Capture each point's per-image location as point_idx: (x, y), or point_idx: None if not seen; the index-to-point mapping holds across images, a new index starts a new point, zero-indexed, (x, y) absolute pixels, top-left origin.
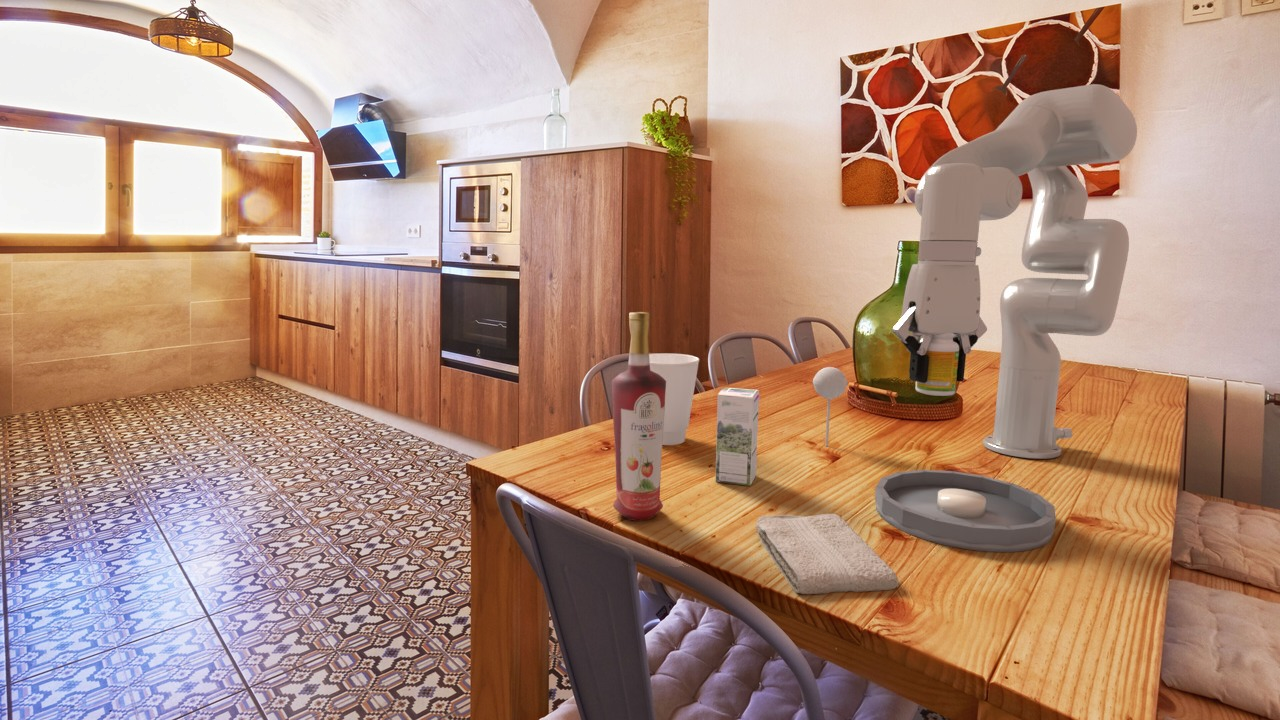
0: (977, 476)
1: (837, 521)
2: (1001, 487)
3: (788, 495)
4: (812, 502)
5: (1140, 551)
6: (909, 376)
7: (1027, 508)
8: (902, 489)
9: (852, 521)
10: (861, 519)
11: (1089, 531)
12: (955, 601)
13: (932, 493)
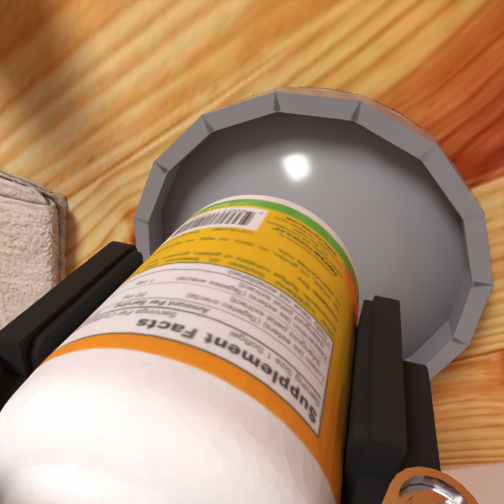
0: (460, 208)
1: (34, 237)
2: (468, 261)
3: (29, 15)
4: (65, 76)
5: (455, 451)
6: (110, 243)
7: (440, 317)
8: (270, 123)
9: (101, 189)
10: (120, 188)
11: (469, 391)
12: None
13: (321, 172)
